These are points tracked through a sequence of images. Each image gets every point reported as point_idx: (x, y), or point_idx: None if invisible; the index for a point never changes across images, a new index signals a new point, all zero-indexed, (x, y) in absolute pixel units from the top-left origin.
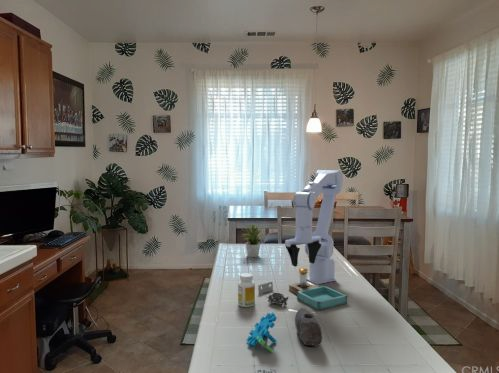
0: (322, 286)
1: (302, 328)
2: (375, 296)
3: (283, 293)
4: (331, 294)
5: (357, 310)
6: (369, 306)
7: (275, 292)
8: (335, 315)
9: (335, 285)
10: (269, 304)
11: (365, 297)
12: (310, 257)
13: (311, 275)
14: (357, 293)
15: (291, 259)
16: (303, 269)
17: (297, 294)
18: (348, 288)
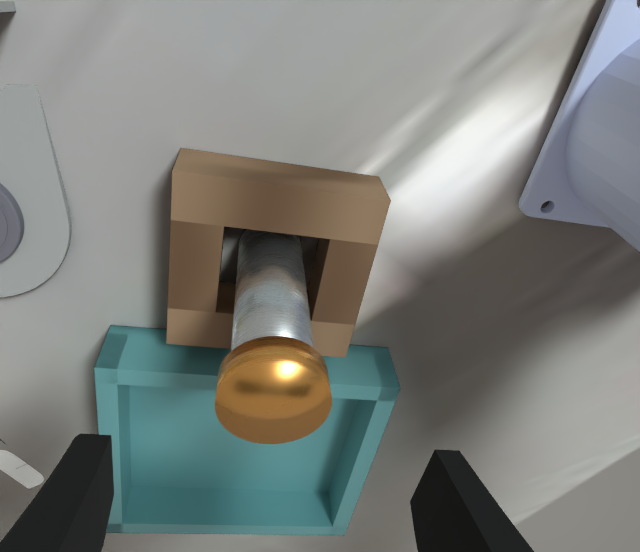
0: (372, 390)
1: None
2: (538, 500)
3: (59, 192)
4: (351, 429)
5: (298, 547)
6: (386, 544)
7: (2, 103)
8: (157, 540)
9: (593, 298)
10: None
11: (489, 489)
12: (456, 540)
13: (604, 133)
14: (523, 445)
15: (24, 531)
16: (280, 405)
17: (100, 355)
18: (581, 378)
